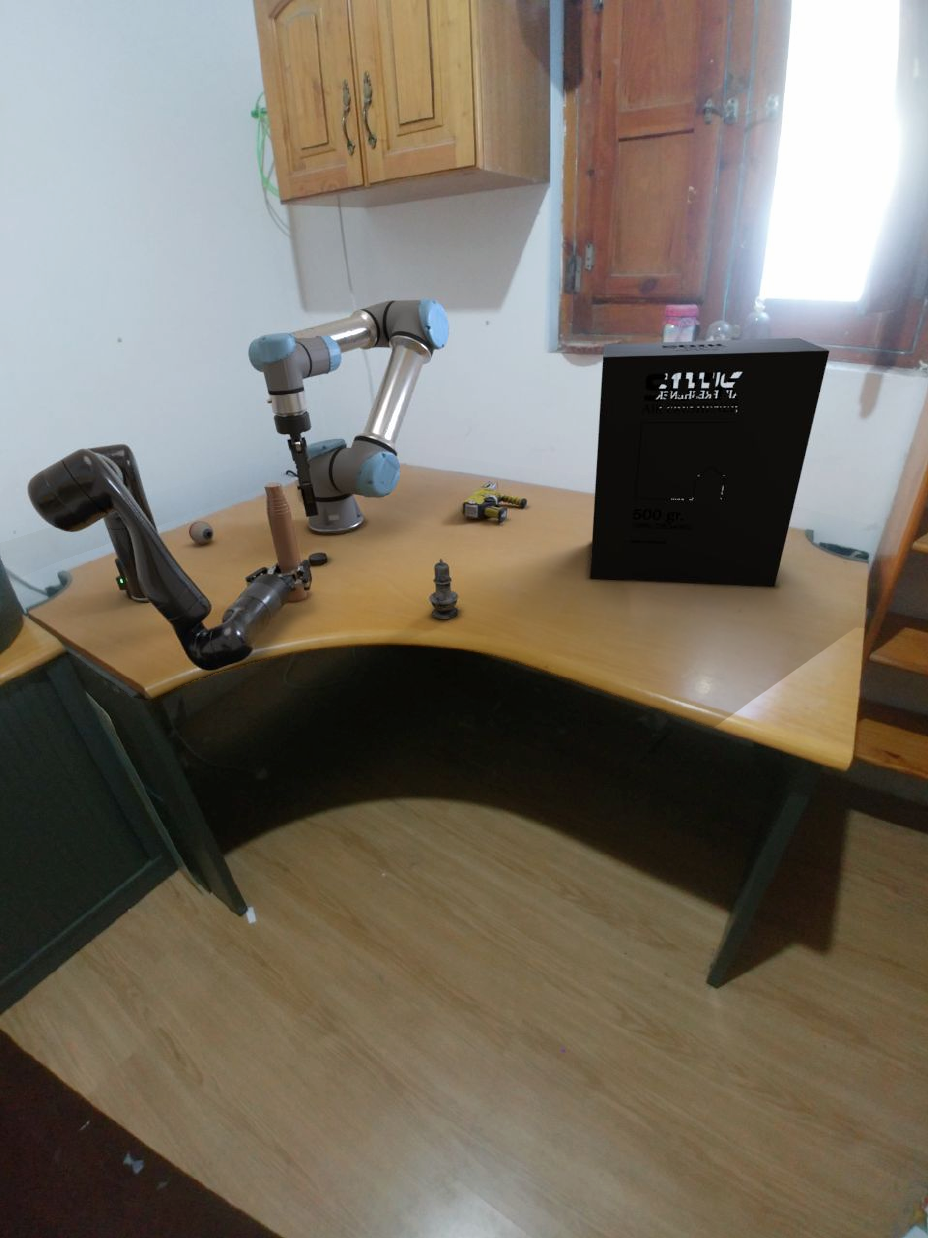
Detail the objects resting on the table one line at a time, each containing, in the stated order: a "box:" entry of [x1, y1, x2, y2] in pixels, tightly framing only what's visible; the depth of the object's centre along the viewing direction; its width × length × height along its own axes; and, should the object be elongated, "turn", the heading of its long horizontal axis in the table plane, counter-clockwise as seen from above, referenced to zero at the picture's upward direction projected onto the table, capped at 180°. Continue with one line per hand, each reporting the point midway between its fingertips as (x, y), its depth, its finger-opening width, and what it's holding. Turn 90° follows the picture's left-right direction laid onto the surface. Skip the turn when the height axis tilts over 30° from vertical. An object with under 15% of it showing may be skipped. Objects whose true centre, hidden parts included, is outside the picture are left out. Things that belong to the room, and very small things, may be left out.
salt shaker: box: [428, 558, 459, 620], centre depth 120 cm, size 6×6×12 cm
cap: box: [307, 552, 329, 567], centre depth 148 cm, size 4×4×2 cm
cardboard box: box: [589, 337, 830, 587], centre depth 126 cm, size 38×20×45 cm, turn 78°
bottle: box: [263, 481, 308, 602], centre depth 126 cm, size 5×5×25 cm
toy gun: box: [461, 480, 528, 523], centre depth 173 cm, size 5×24×15 cm
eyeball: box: [188, 520, 214, 545], centre depth 161 cm, size 6×6×6 cm
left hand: (295, 563), depth 131 cm, fingers closed on bottle, 4 cm apart
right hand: (310, 505), depth 142 cm, fingers open, 13 cm apart
